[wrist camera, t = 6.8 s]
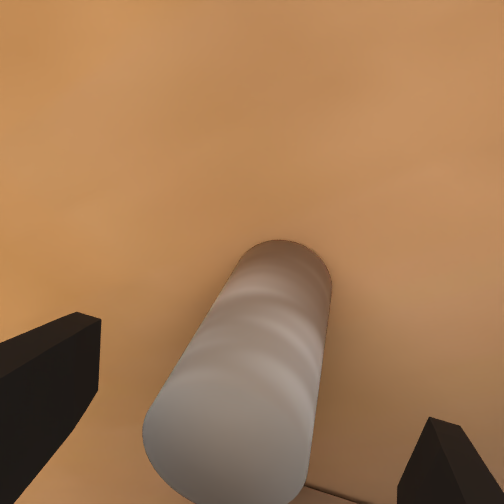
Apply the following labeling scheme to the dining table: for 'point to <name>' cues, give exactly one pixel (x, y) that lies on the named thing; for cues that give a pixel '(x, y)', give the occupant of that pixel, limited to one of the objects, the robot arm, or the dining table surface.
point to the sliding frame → (248, 386)
